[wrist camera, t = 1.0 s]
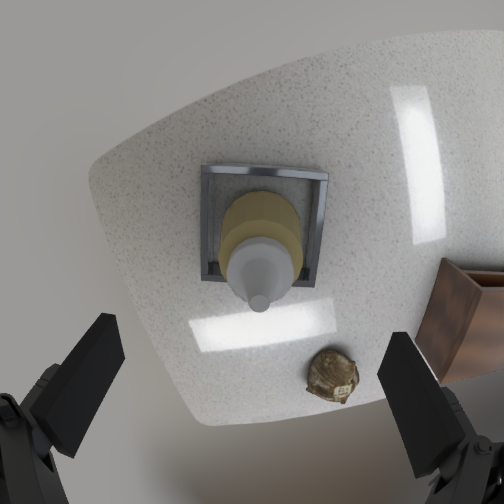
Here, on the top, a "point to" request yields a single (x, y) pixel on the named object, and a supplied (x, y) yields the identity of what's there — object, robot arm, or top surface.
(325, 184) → the holder
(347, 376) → the fossilized seashell
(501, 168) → the top surface
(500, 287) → the wooden shelf
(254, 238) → the squeeze bottle
